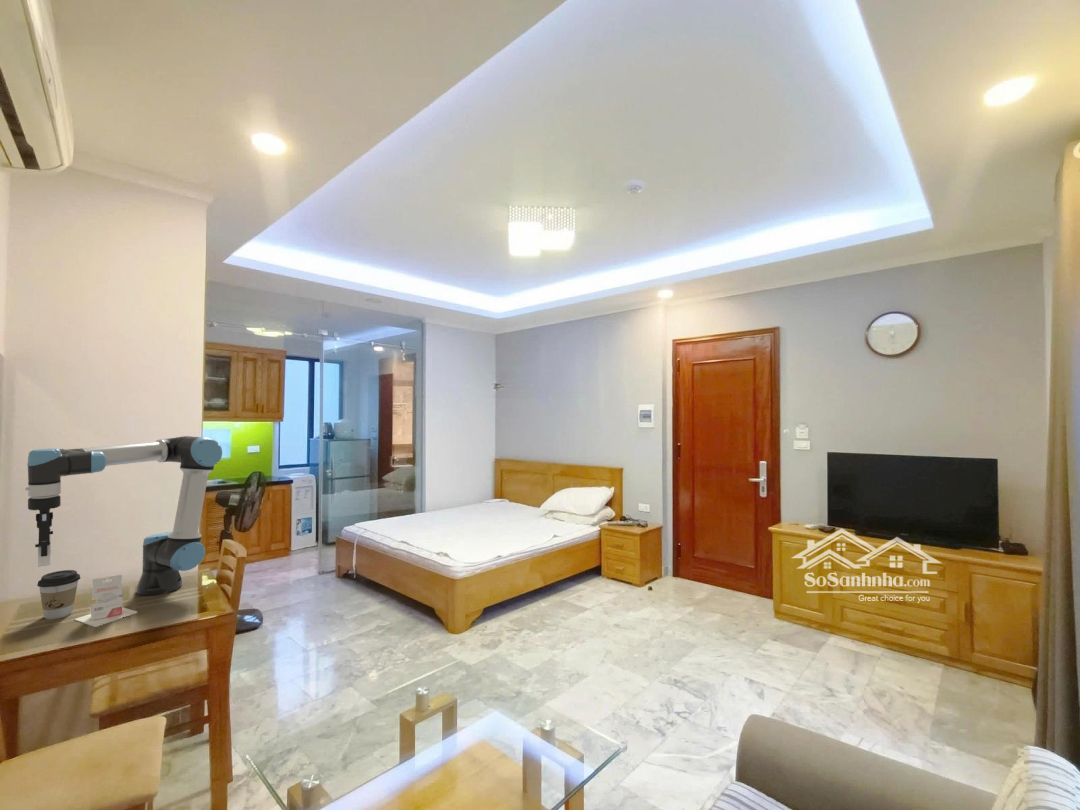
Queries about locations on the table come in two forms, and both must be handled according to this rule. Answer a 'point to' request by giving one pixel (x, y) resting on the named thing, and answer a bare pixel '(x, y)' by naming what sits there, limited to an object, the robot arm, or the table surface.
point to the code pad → (105, 620)
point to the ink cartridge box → (106, 597)
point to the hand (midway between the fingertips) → (44, 560)
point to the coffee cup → (58, 593)
